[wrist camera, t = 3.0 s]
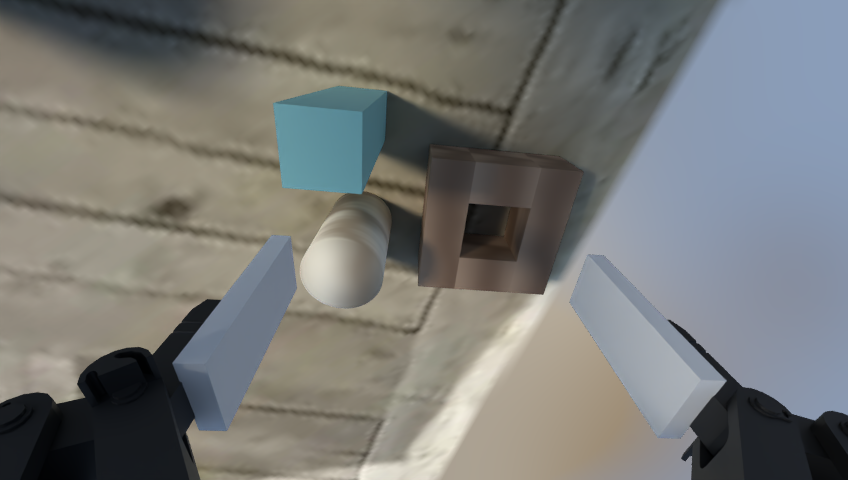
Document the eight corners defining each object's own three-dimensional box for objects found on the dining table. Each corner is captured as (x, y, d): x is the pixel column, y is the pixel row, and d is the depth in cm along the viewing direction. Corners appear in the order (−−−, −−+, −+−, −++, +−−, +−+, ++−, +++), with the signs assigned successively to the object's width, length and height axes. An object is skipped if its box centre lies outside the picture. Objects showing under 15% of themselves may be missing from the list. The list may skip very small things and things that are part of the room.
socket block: (418, 258, 35) (418, 286, 31) (429, 144, 30) (431, 158, 25) (527, 266, 36) (543, 294, 31) (559, 156, 30) (583, 172, 26)
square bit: (339, 135, 29) (282, 187, 17) (338, 85, 27) (273, 102, 15) (385, 139, 29) (361, 194, 17) (387, 90, 27) (362, 112, 15)
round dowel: (332, 243, 34) (303, 305, 25) (330, 188, 31) (296, 236, 22) (390, 247, 34) (381, 310, 26) (393, 193, 32) (384, 243, 23)
